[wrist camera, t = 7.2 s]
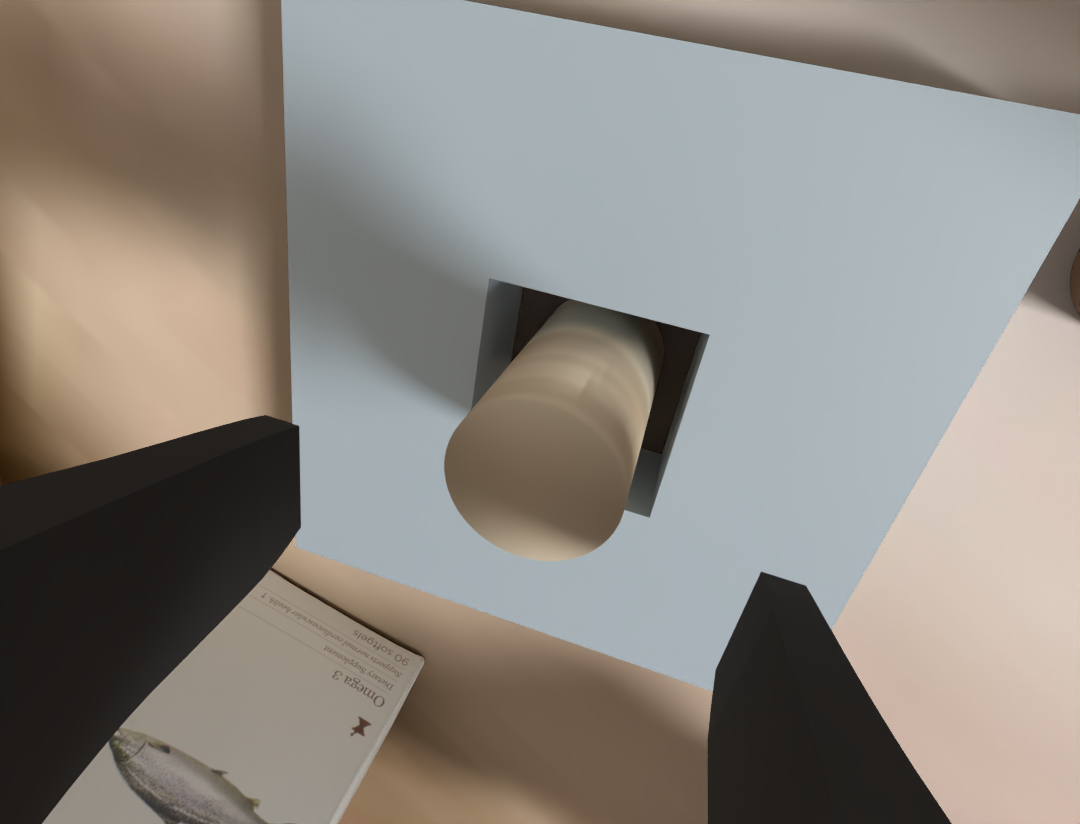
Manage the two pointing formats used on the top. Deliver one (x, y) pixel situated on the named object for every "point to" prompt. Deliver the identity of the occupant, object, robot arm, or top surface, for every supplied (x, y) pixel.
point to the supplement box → (253, 722)
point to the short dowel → (1076, 282)
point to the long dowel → (558, 435)
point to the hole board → (641, 295)
